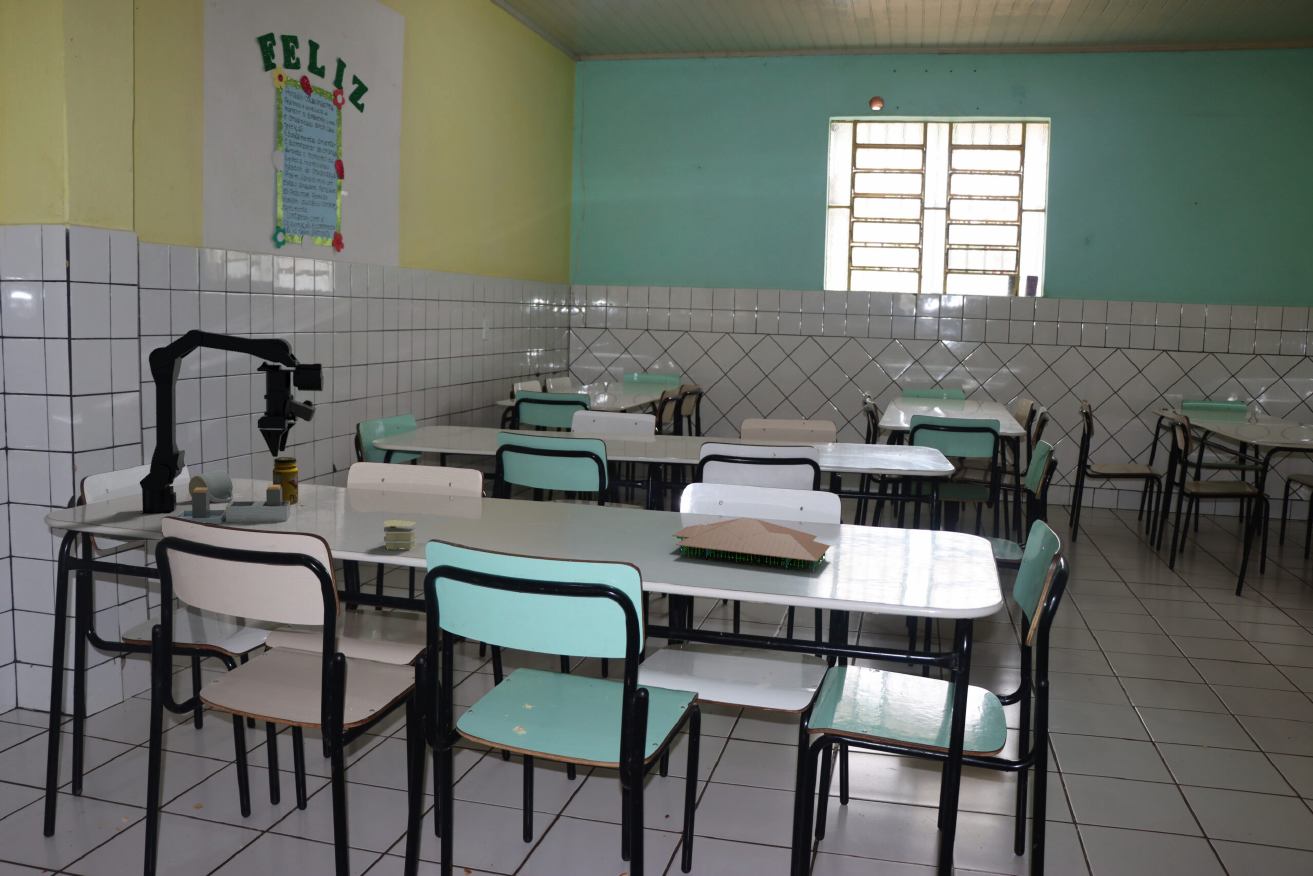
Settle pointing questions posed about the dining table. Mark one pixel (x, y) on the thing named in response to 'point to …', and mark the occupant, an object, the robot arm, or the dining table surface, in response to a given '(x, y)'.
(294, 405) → the robot arm
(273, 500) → the twin plug
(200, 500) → the plug
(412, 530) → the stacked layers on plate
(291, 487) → the condiment
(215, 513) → the tray
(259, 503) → the grey socket block
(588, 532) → the dining table surface
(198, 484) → the ceramic mug
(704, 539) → the house
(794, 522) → the dining table surface
